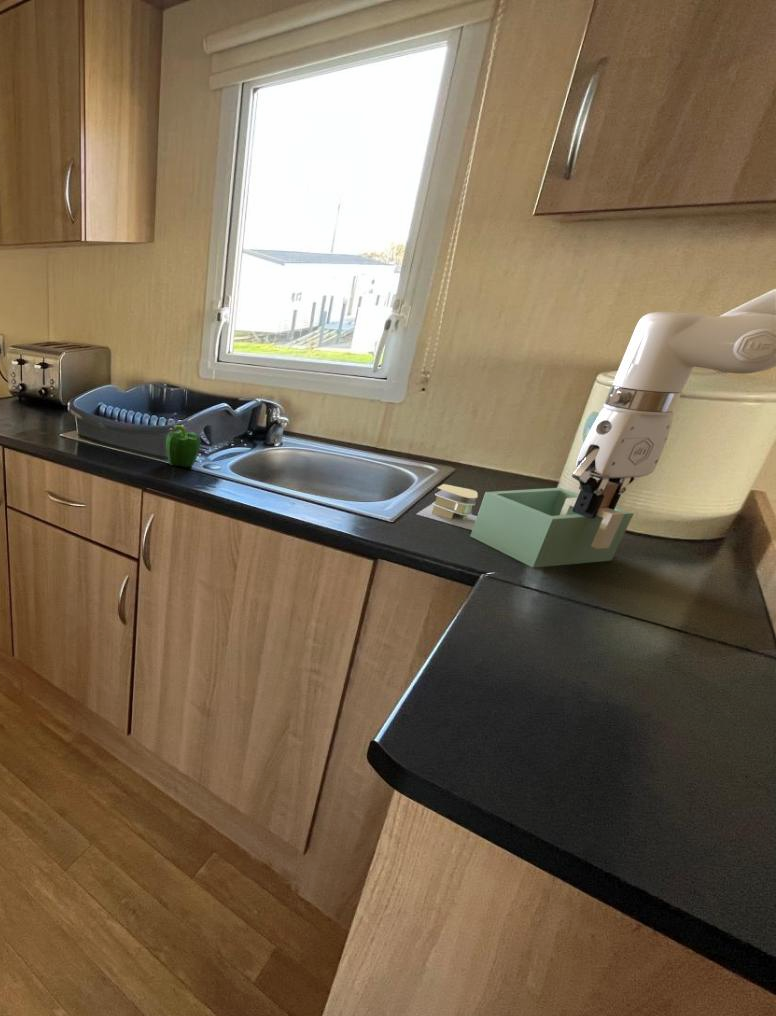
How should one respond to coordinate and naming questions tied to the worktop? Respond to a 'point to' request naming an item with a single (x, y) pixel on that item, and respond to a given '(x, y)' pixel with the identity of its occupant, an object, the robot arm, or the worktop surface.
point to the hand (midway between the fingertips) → (591, 513)
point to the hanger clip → (609, 516)
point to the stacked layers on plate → (452, 506)
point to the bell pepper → (182, 447)
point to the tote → (541, 528)
